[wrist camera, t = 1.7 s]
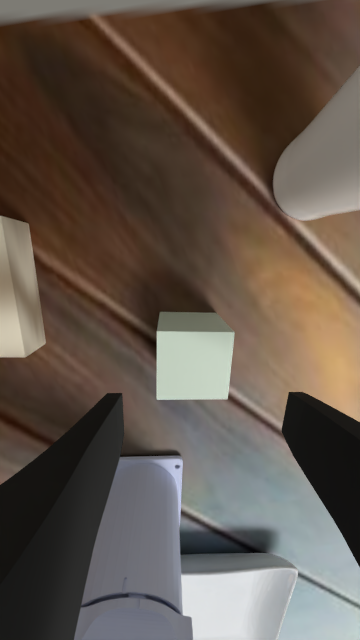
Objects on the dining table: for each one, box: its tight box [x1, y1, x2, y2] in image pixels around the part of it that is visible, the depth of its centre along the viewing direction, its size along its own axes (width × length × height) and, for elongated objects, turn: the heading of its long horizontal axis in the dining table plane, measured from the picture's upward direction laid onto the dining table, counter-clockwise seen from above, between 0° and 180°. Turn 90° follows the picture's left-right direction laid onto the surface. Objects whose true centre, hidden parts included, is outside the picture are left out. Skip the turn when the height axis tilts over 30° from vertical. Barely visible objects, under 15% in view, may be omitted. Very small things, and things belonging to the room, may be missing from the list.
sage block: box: [157, 312, 235, 400], centre depth 15 cm, size 5×5×5 cm
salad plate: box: [180, 553, 298, 640], centre depth 26 cm, size 21×21×3 cm
